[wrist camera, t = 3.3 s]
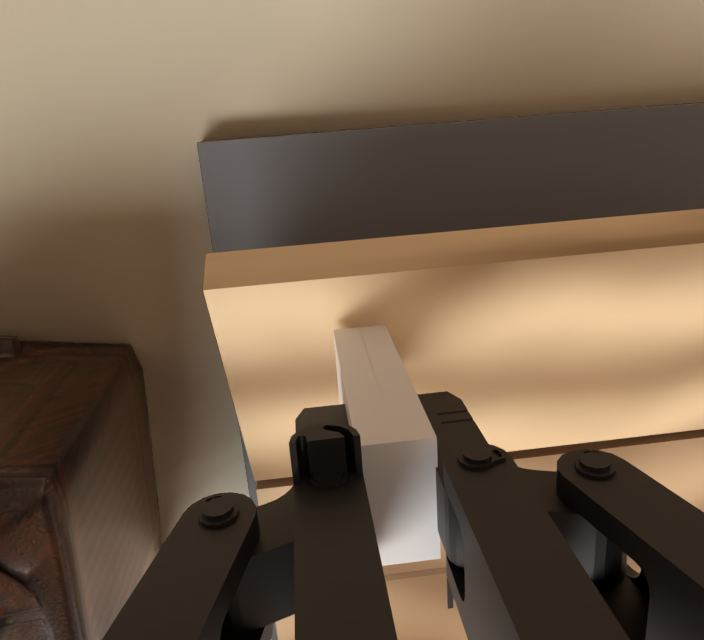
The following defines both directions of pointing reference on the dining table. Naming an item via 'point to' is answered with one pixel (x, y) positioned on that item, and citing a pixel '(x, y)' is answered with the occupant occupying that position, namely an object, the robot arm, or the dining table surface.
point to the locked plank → (642, 452)
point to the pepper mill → (72, 487)
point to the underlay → (450, 178)
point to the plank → (477, 327)
